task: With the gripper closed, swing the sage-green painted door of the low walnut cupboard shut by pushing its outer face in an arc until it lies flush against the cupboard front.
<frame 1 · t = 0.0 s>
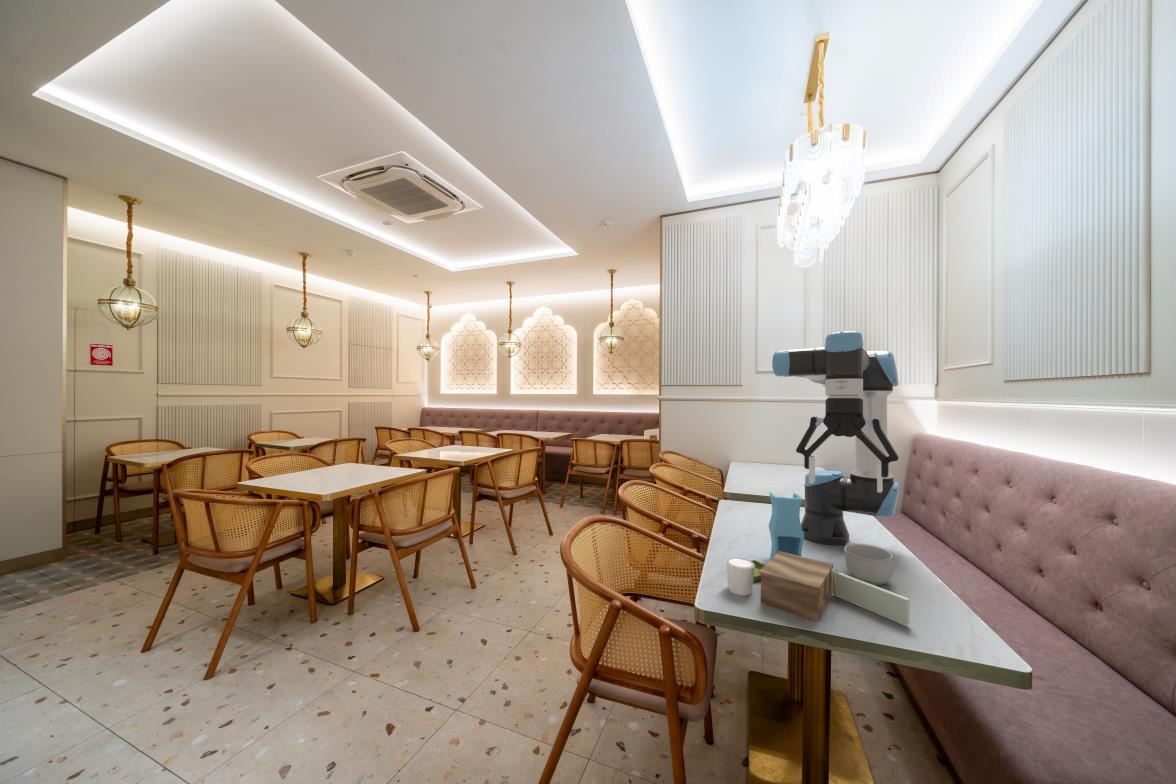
hand: (844, 486, 93), 28 cm above the table, fingers open, 13 cm apart
white short cylinder: (740, 590, 100), on the table
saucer: (754, 575, 110), on the table
cupboard: (797, 598, 96), on the table
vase: (785, 563, 117), on the table
teacup: (865, 578, 108), on the table
door: (867, 595, 91), point 3 cm above the table, hinge at 70.0°
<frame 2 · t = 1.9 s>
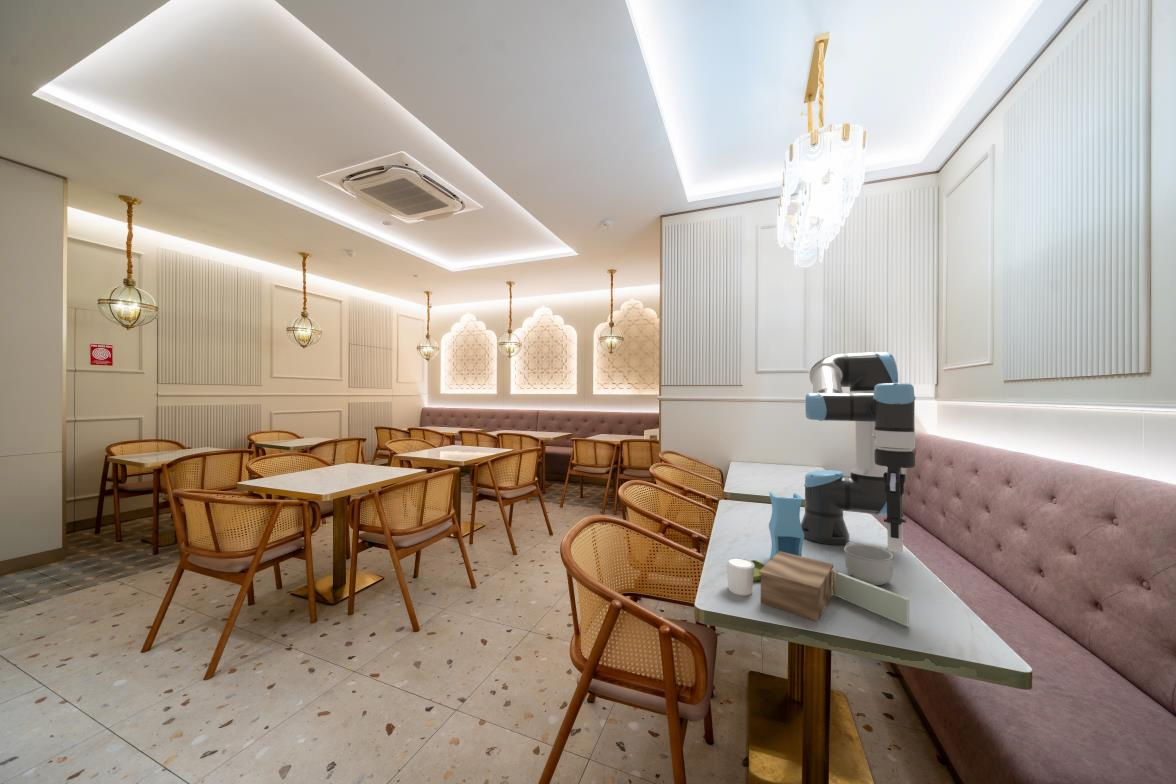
hand: (895, 550, 91), 14 cm above the table, fingers closed
nothing on the table moved.
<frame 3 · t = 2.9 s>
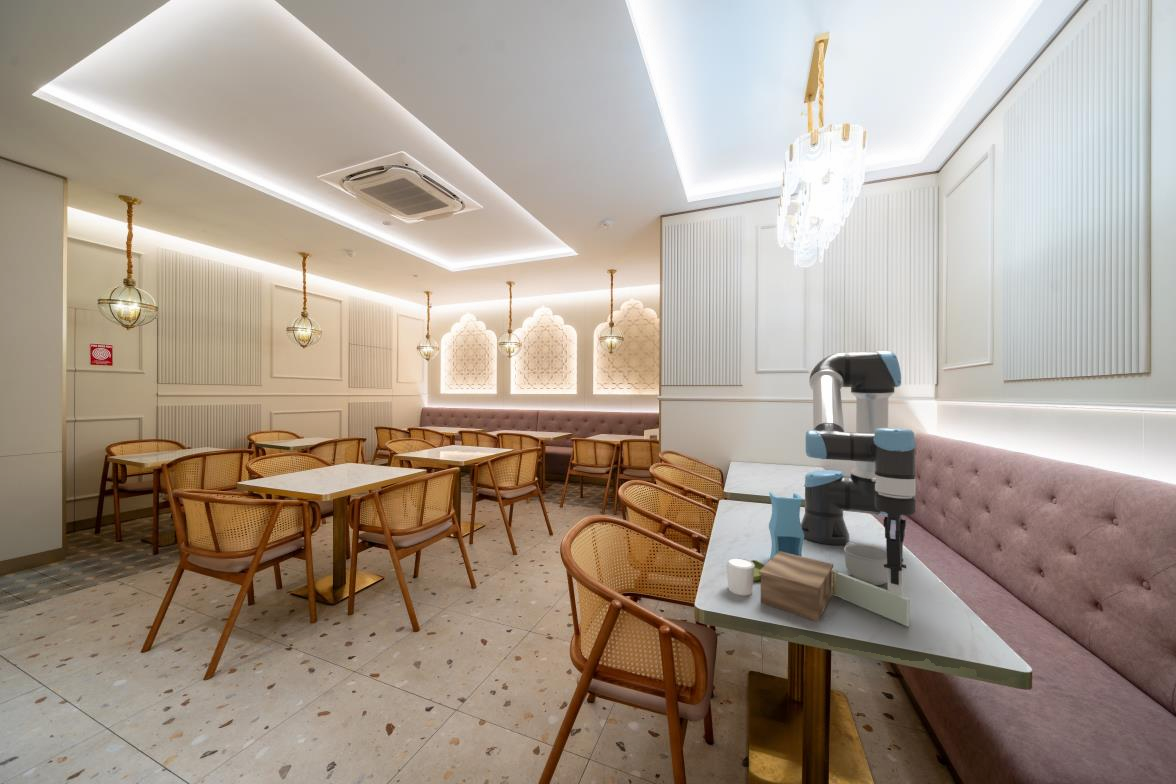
hand: (895, 596, 92), 3 cm above the table, fingers closed
nothing on the table moved.
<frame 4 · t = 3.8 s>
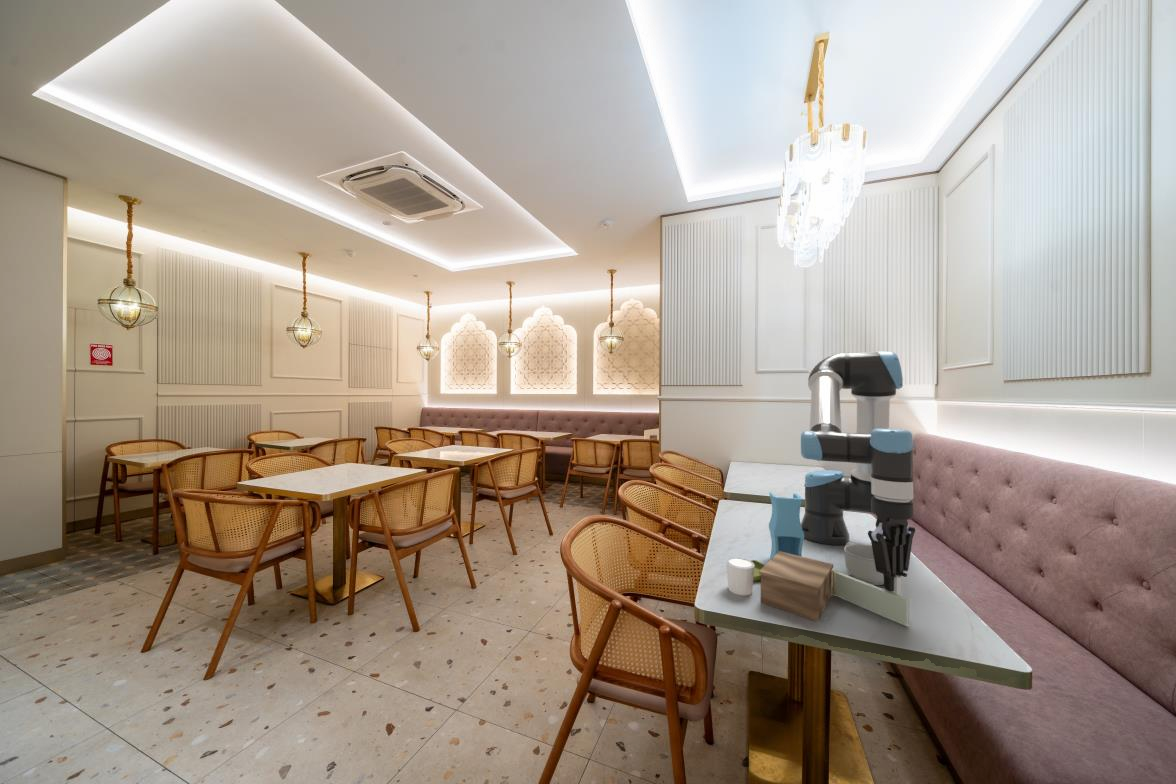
hand: (892, 603, 88), 3 cm above the table, fingers closed
door: (867, 596, 91), point 3 cm above the table, hinge at 69.6°, touching gripper
everything else where it was.
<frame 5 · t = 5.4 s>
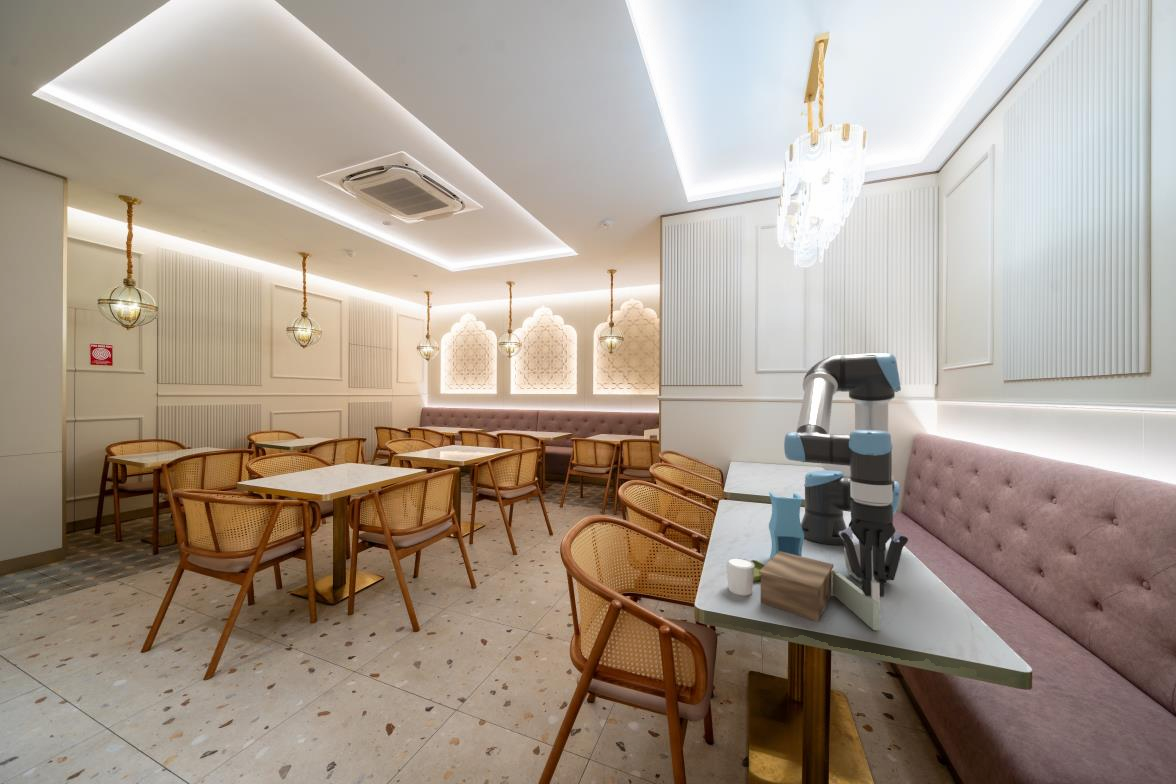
hand: (873, 610, 86), 3 cm above the table, fingers closed
door: (853, 597, 90), point 3 cm above the table, hinge at 37.7°, touching gripper
everything else where it was.
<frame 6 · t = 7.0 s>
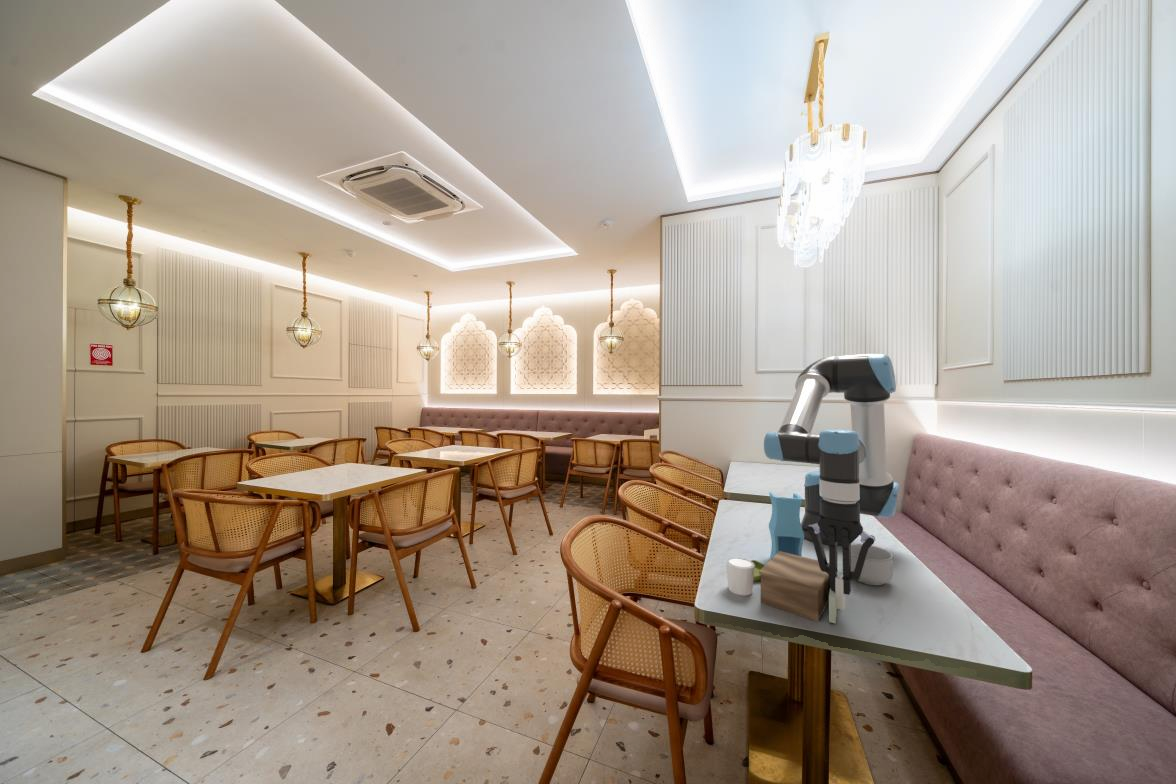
hand: (840, 606, 87), 3 cm above the table, fingers closed
door: (834, 595, 91), point 3 cm above the table, hinge at 6.7°, touching gripper
everything else where it was.
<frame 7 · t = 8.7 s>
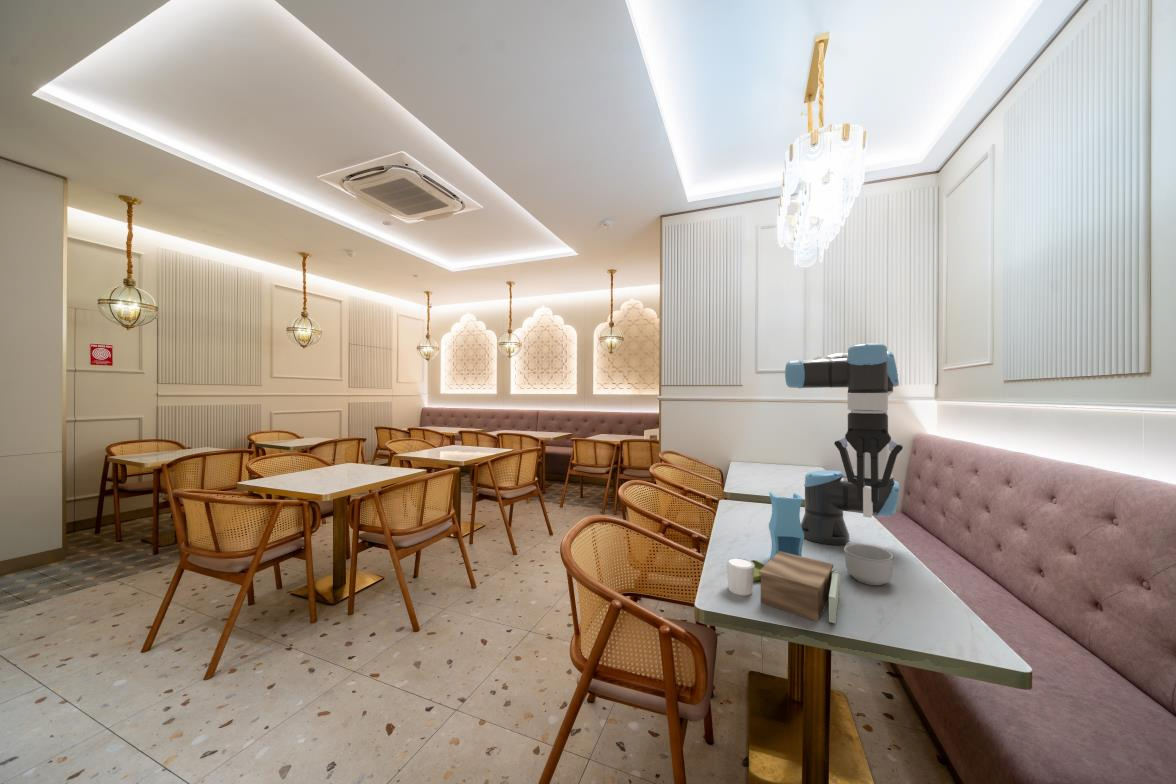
hand: (867, 515, 90), 22 cm above the table, fingers closed
door: (834, 595, 91), point 3 cm above the table, hinge at 6.6°
everything else where it was.
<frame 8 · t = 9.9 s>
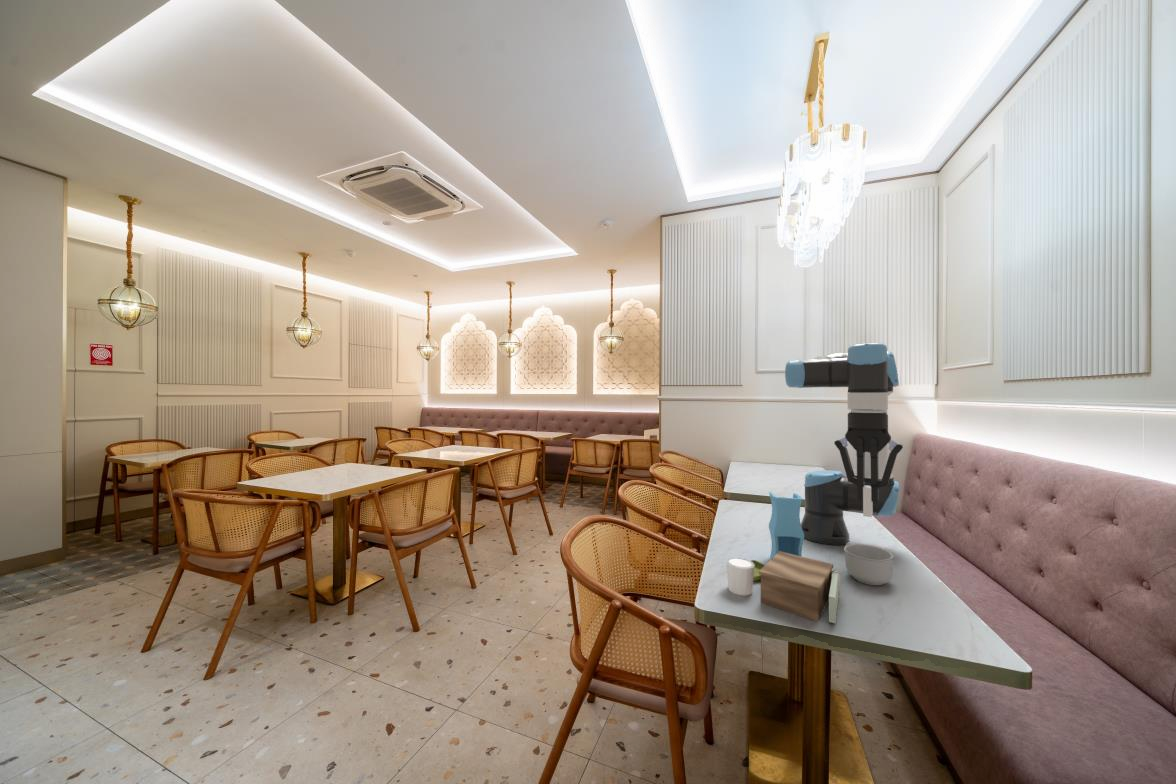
hand: (867, 515, 90), 22 cm above the table, fingers closed
nothing on the table moved.
at the end: door at +7° (first picture: +70°) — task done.
